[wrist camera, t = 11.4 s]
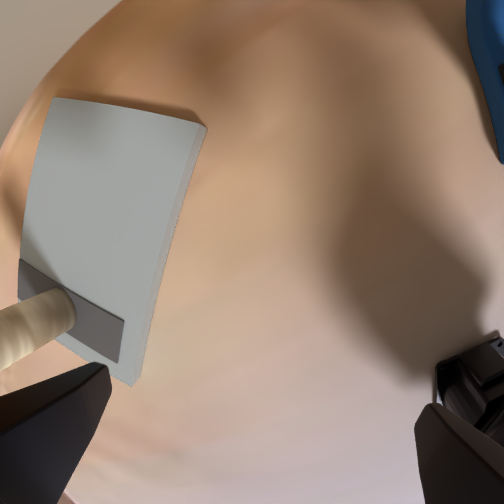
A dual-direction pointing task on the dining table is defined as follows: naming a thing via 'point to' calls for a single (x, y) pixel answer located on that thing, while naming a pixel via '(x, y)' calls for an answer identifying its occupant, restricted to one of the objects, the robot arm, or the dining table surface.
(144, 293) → the board
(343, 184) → the dining table surface
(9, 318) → the birch peg
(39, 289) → the strip
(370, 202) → the dining table surface
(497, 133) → the handheld scanner
